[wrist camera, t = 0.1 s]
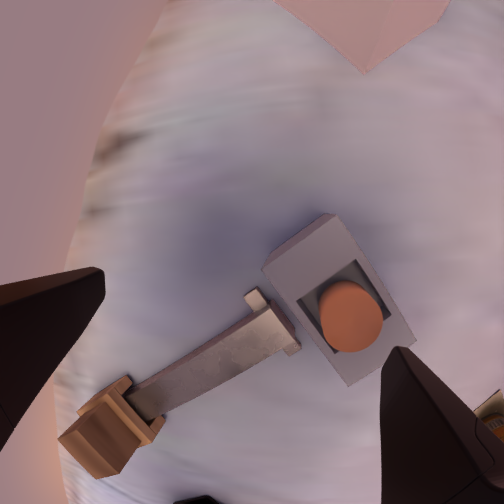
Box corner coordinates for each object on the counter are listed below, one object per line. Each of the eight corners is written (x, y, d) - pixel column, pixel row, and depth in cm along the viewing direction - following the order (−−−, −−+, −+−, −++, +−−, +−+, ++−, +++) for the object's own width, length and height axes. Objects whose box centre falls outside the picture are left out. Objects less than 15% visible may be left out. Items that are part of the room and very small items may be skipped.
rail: (132, 433, 28) (122, 446, 26) (96, 392, 28) (84, 404, 26) (305, 342, 24) (306, 355, 22) (261, 283, 24) (257, 291, 22)
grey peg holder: (335, 342, 24) (348, 386, 17) (270, 252, 24) (260, 269, 17) (386, 307, 23) (416, 340, 16) (324, 213, 23) (337, 214, 16)
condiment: (464, 462, 24) (498, 527, 12) (446, 431, 24) (488, 507, 12) (511, 425, 23) (555, 481, 11) (499, 388, 22) (556, 449, 11)
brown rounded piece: (336, 339, 17) (342, 363, 14) (308, 300, 17) (310, 318, 14) (378, 310, 17) (393, 329, 14) (351, 269, 17) (363, 281, 14)
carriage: (130, 436, 28) (94, 484, 20) (94, 395, 28) (49, 436, 19) (165, 420, 27) (130, 475, 18) (126, 375, 27) (78, 421, 18)
